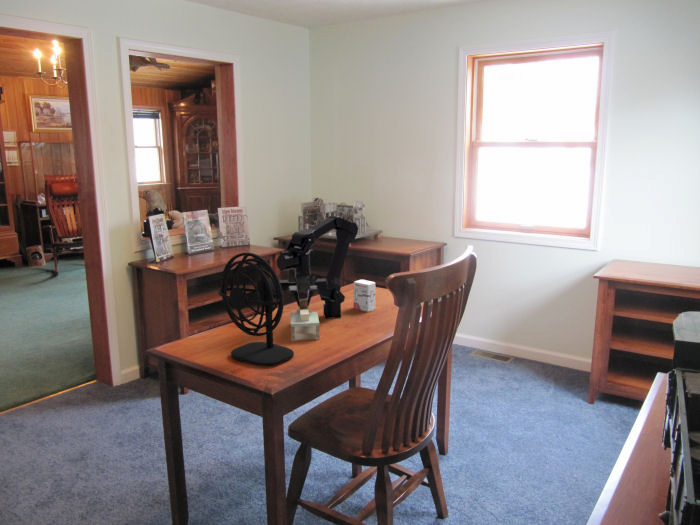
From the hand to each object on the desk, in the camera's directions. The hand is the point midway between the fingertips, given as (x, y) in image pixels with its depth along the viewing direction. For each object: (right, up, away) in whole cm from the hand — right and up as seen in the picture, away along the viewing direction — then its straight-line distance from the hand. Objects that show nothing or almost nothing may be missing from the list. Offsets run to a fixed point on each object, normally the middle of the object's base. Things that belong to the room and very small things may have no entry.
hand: (303, 306), depth 213 cm
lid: (+1, -4, -9) cm, 10 cm away
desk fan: (-12, -14, -30) cm, 35 cm away
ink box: (+24, -3, +22) cm, 33 cm away
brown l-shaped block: (0, -2, -2) cm, 2 cm away
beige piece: (+1, -9, -5) cm, 10 cm away
